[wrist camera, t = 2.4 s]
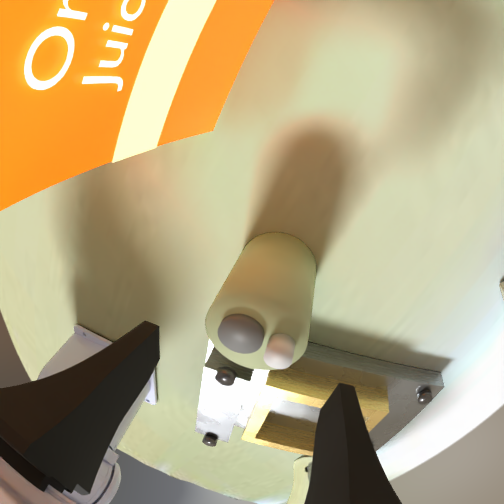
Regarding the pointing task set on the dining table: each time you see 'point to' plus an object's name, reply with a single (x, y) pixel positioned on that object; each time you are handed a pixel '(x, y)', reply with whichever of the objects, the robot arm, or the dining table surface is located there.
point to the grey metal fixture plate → (307, 397)
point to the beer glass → (300, 480)
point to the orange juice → (111, 80)
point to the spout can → (265, 304)
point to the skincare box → (502, 289)
